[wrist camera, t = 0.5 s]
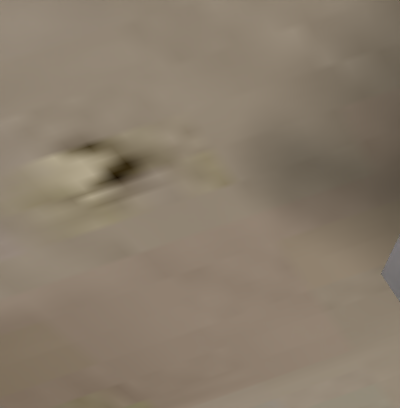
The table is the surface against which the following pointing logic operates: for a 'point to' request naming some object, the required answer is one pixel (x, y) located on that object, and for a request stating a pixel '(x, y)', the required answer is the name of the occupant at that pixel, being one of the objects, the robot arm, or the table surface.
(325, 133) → the table surface
